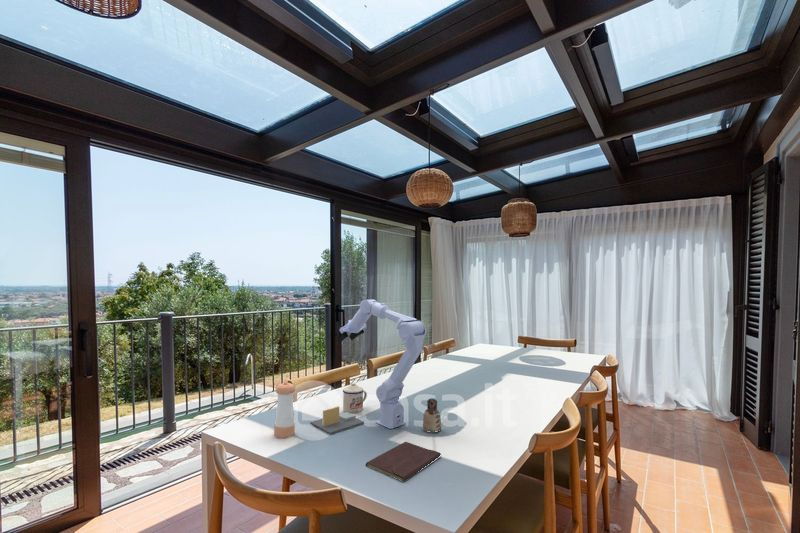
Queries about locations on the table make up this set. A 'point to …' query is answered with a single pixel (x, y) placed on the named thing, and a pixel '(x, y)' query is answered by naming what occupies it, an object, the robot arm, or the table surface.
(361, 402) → the teacup with lid
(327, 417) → the tile
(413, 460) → the notebook
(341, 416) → the slate tile
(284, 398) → the pepper shaker
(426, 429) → the figurine
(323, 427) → the mat
